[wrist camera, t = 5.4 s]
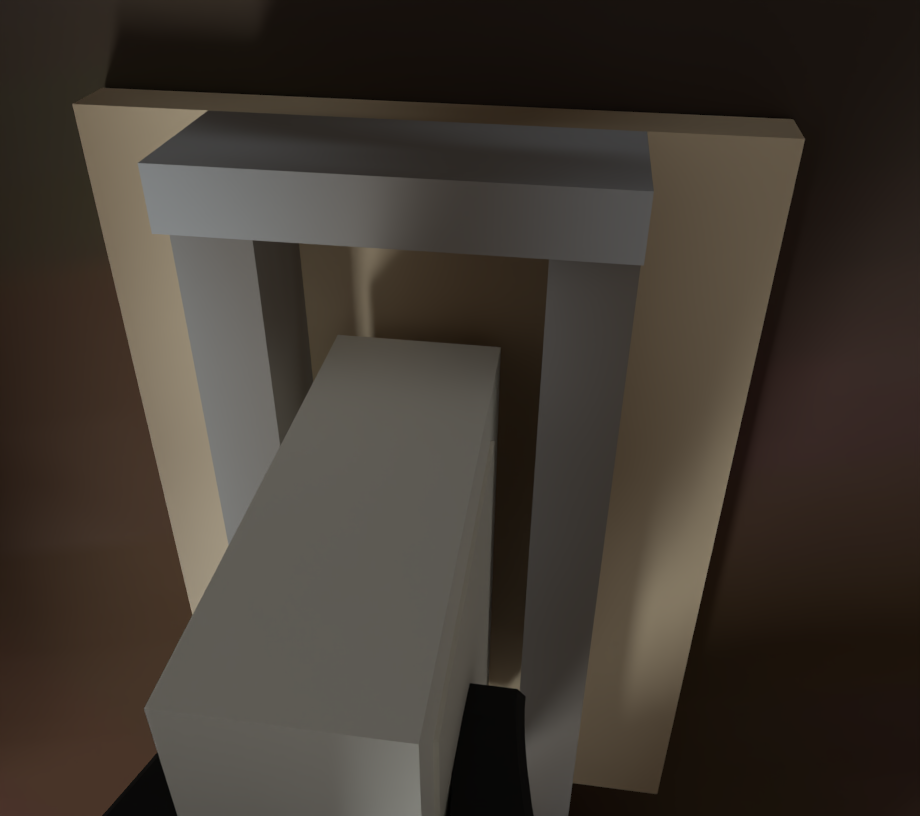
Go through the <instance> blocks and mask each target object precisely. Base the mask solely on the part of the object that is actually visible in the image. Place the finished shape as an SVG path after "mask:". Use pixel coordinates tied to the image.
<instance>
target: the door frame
mask: <svg viewBox="0 0 920 816" xmlns="http://www.w3.org/2000/svg"><path fill="white" fill-rule="evenodd" d="M72 105H73V109H74V113H75V118H76V122H77V126H78V130H79V135H80V139H81V143H82V147H83V152H84V156H85V160H86V164H87V169H88V173H89V177H90V181H91V186H92V190H93V194H94V198H95V203H96V207H97V211H98V215H99V220H100V224H101V228H102V232H103V237H104V241H105V245H106V249H107V254H108V258H109V262H110V266H111V271H112V275H113V279H114V283H115V288H116V292H117V296H118V300H119V305H120V309H121V313H122V317H123V322H124V326H125V330H126V334H127V339H128V343H129V347H130V351H131V356H132V360H133V364H134V368H135V373H136V377H137V381H138V385H139V390H140V394H141V398H142V402H143V407H144V411H145V415H146V419H147V424H148V428H149V432H150V436H151V441H152V445H153V449H154V453H155V458H156V462H157V466H158V470H159V475H160V479H161V483H162V487H163V492H164V496H165V500H166V504H167V509H168V513H169V517H170V521H171V526H172V530H173V534H174V538H175V543H176V547H177V551H178V555H179V560H180V564H181V568H182V572H183V577H184V581H185V585H186V589H187V594H188V598H189V602H190V606H191V611H192V615H193V613H194V611H195V610H196V608H197V606H198V604H199V602H200V600H201V598H202V596H203V594H204V592H205V590H206V588H207V586H208V584H209V582H210V581H211V579H212V577H213V575H214V573H215V571H216V569H217V567H218V565H219V563H220V561H221V559H222V557H223V555H224V554H225V552H226V550H227V548H228V546H229V544H230V542H231V540H232V538H233V536H234V534H235V532H236V530H237V528H238V527H239V525H240V523H241V521H242V519H243V517H244V515H245V513H246V511H247V509H248V507H249V505H250V503H251V501H252V499H253V498H254V496H255V494H256V492H257V490H258V488H259V486H260V484H261V482H262V480H263V478H264V476H265V474H266V472H267V471H268V469H269V467H270V465H271V463H272V461H273V459H274V457H275V455H276V453H277V451H278V449H279V447H280V445H281V444H282V442H283V440H284V438H285V436H286V434H287V432H288V430H289V428H290V426H291V424H292V422H293V420H294V418H295V416H296V415H297V413H298V411H299V409H300V407H301V405H302V403H303V401H304V399H305V397H306V395H307V393H308V391H309V389H310V388H311V386H312V384H313V382H314V380H315V378H316V376H317V374H318V372H319V370H320V368H321V366H322V364H323V362H324V360H325V359H326V357H327V355H328V353H329V351H330V349H331V347H332V345H333V343H334V341H335V339H336V337H337V335H347V336H361V337H374V338H387V339H400V340H413V341H426V342H439V343H452V344H465V345H478V346H491V347H501V355H500V383H499V411H498V439H497V467H496V495H495V523H494V551H493V579H492V607H491V635H490V663H489V685H490V686H498V687H506V688H514V689H518V690H519V691H520V692H521V693H522V694H524V695H525V696H526V700H525V745H526V758H527V770H528V778H529V786H530V794H531V802H532V808H533V815H534V816H568V813H569V806H570V798H571V791H572V783H575V784H583V785H591V786H598V787H606V788H614V789H621V790H629V791H637V792H644V793H652V794H657V792H658V788H659V784H660V779H661V775H662V770H663V766H664V761H665V757H666V753H667V748H668V744H669V739H670V735H671V730H672V726H673V722H674V717H675V713H676V708H677V704H678V699H679V695H680V691H681V686H682V682H683V677H684V673H685V668H686V664H687V660H688V655H689V651H690V646H691V642H692V637H693V633H694V629H695V624H696V620H697V615H698V611H699V606H700V602H701V598H702V593H703V589H704V584H705V580H706V575H707V571H708V567H709V562H710V558H711V553H712V549H713V544H714V540H715V536H716V531H717V527H718V522H719V518H720V513H721V509H722V505H723V500H724V496H725V491H726V487H727V482H728V478H729V474H730V469H731V465H732V460H733V456H734V451H735V447H736V443H737V438H738V434H739V429H740V425H741V420H742V416H743V412H744V407H745V403H746V398H747V394H748V389H749V385H750V381H751V376H752V372H753V367H754V363H755V358H756V354H757V350H758V345H759V341H760V336H761V332H762V327H763V323H764V319H765V314H766V310H767V305H768V301H769V296H770V292H771V288H772V283H773V279H774V274H775V270H776V265H777V261H778V257H779V252H780V248H781V243H782V239H783V234H784V230H785V226H786V221H787V217H788V212H789V208H790V203H791V199H792V195H793V190H794V186H795V181H796V177H797V172H798V168H799V164H800V159H801V155H802V150H803V146H804V141H805V138H804V136H803V135H802V133H801V131H800V130H799V128H798V126H797V125H796V123H795V121H794V120H793V119H778V118H756V117H734V116H712V115H689V114H667V113H645V112H623V111H601V110H579V109H557V108H535V107H513V106H491V105H469V104H447V103H425V102H403V101H381V100H359V99H337V98H315V97H293V96H271V95H249V94H227V93H205V92H183V91H161V90H139V89H117V88H101V89H99V90H97V91H95V92H93V93H92V94H90V95H88V96H86V97H84V98H82V99H81V100H79V101H77V102H75V103H73V104H72Z"/></svg>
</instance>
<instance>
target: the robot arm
mask: <svg viewBox="0 0 920 816" xmlns="http://www.w3.org/2000/svg"><path fill="white" fill-rule="evenodd" d="M525 700H526V696H525V695H524V694H522V693H521V692H520V691H519V690H518V689H514V688H506V687H498V686H490V685H481V684H473V683H470V684H469V689H468V693H467V698H466V703H465V707H464V712H463V717H462V722H461V727H460V732H459V738H458V743H457V748H456V753H455V758H454V766H453V779H452V793H451V806H450V816H534V815H533V808H532V802H531V794H530V786H529V778H528V770H527V758H526V745H525ZM102 816H177V813H176V809H175V806H174V803H173V800H172V797H171V793H170V790H169V787H168V784H167V781H166V777H165V774H164V771H163V768H162V765H161V761H160V758H159V755H158V752H157V754H156V755H155V756H154V757H153V758H152V759H151V761H150V762H149V763H148V764H147V765H146V766H145V767H144V769H143V770H142V771H141V772H140V773H139V774H138V775H137V777H136V778H135V779H134V780H133V781H132V782H131V783H130V785H129V786H128V787H127V788H126V789H125V790H124V792H123V793H122V794H121V795H120V796H119V797H118V798H117V800H116V801H115V802H114V803H113V804H112V805H111V806H110V808H109V809H108V810H107V811H106V812H105V813H104V814H103V815H102Z"/></svg>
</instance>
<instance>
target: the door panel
mask: <svg viewBox="0 0 920 816" xmlns="http://www.w3.org/2000/svg"><path fill="white" fill-rule="evenodd" d="M500 355H501V347H491V346H478V345H465V344H452V343H439V342H426V341H413V340H400V339H387V338H374V337H361V336H347V335H337V337H336V339H335V341H334V343H333V345H332V347H331V349H330V351H329V353H328V355H327V357H326V359H325V360H324V362H323V364H322V366H321V368H320V370H319V372H318V374H317V376H316V378H315V380H314V382H313V384H312V386H311V388H310V389H309V391H308V393H307V395H306V397H305V399H304V401H303V403H302V405H301V407H300V409H299V411H298V413H297V415H296V416H295V418H294V420H293V422H292V424H291V426H290V428H289V430H288V432H287V434H286V436H285V438H284V440H283V442H282V444H281V445H280V447H279V449H278V451H277V453H276V455H275V457H274V459H273V461H272V463H271V465H270V467H269V469H268V471H267V472H266V474H265V476H264V478H263V480H262V482H261V484H260V486H259V488H258V490H257V492H256V494H255V496H254V498H253V499H252V501H251V503H250V505H249V507H248V509H247V511H246V513H245V515H244V517H243V519H242V521H241V523H240V525H239V527H238V528H237V530H236V532H235V534H234V536H233V538H232V540H231V542H230V544H229V546H228V548H227V550H226V552H225V554H224V555H223V557H222V559H221V561H220V563H219V565H218V567H217V569H216V571H215V573H214V575H213V577H212V579H211V581H210V582H209V584H208V586H207V588H206V590H205V592H204V594H203V596H202V598H201V600H200V602H199V604H198V606H197V608H196V610H195V611H194V613H193V615H192V617H191V619H190V621H189V623H188V625H187V627H186V629H185V631H184V633H183V635H182V637H181V638H180V640H179V642H178V644H177V646H176V648H175V650H174V652H173V654H172V656H171V658H170V660H169V662H168V664H167V666H166V667H165V669H164V671H163V673H162V675H161V677H160V679H159V681H158V683H157V685H156V687H155V689H154V691H153V693H152V694H151V696H150V698H149V700H148V702H147V704H146V706H145V708H144V710H145V714H146V717H147V720H148V723H149V726H150V730H151V733H152V736H153V739H154V742H155V746H156V749H157V752H158V755H159V758H160V761H161V765H162V768H163V771H164V774H165V777H166V781H167V784H168V787H169V790H170V793H171V797H172V800H173V803H174V806H175V809H176V813H177V816H450V806H451V793H452V779H453V766H454V758H455V753H456V748H457V743H458V738H459V732H460V727H461V722H462V717H463V712H464V707H465V703H466V698H467V693H468V689H469V684H470V683H473V684H481V685H489V663H490V635H491V607H492V579H493V551H494V523H495V495H496V467H497V439H498V411H499V383H500Z"/></svg>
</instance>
